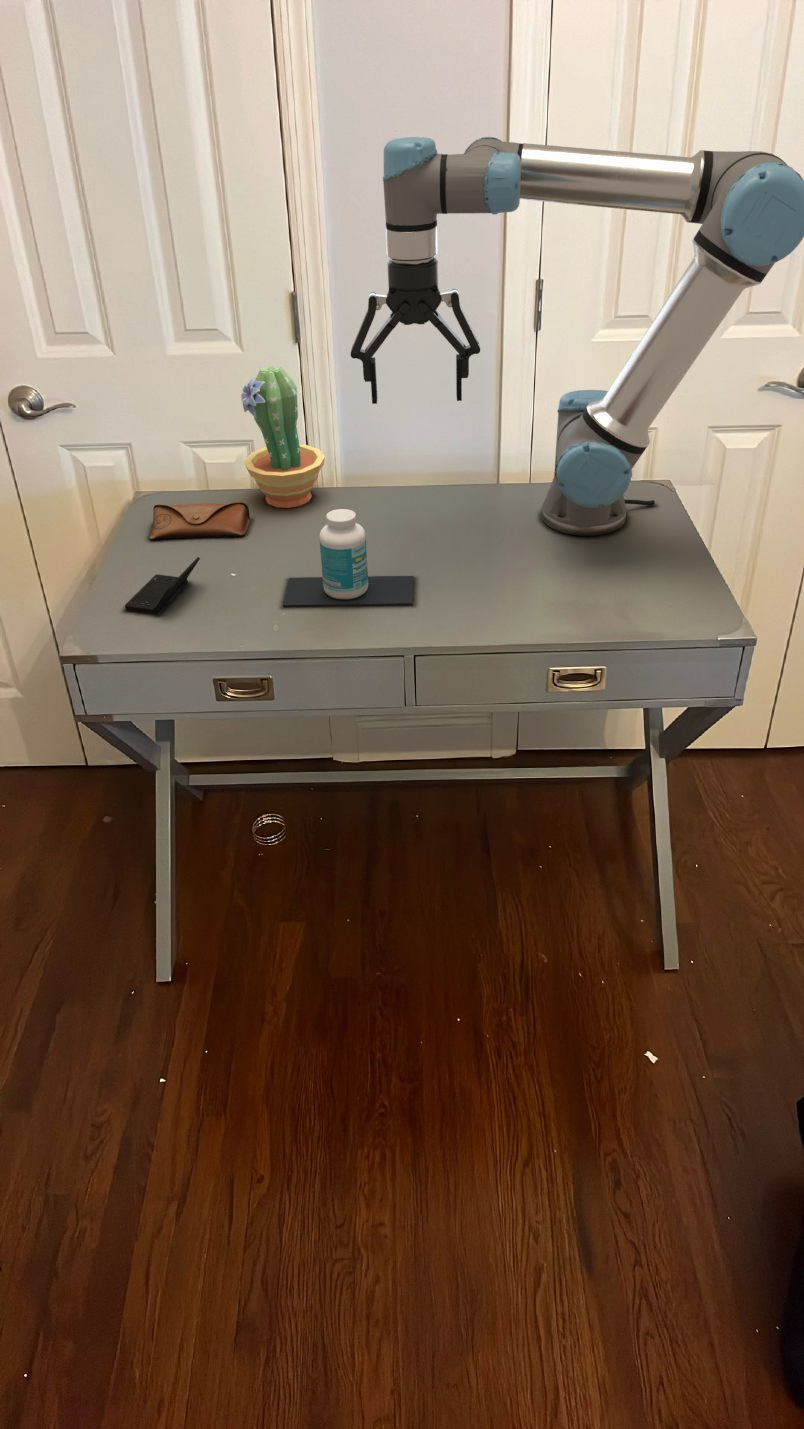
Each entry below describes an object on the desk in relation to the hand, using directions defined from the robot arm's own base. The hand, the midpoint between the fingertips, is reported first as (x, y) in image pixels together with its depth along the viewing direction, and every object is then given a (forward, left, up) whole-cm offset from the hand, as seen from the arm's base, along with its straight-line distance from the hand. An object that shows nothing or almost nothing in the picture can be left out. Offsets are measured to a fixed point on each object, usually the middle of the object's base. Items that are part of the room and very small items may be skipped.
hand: (416, 399), depth 160 cm
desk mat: (+12, +16, -26) cm, 33 cm away
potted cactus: (+26, -21, -27) cm, 43 cm away
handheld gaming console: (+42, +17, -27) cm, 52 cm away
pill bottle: (+12, +16, -26) cm, 33 cm away
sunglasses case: (+41, -8, -27) cm, 50 cm away
